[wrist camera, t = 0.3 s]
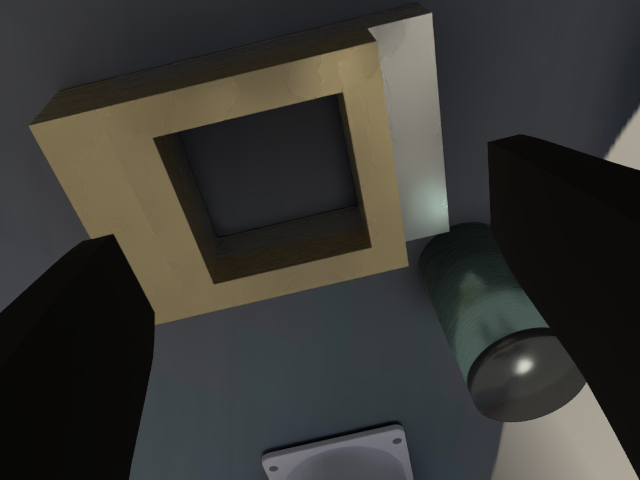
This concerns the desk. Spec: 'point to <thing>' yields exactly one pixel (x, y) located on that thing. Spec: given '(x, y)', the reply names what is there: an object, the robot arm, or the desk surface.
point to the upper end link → (172, 194)
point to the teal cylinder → (495, 328)
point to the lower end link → (404, 124)
